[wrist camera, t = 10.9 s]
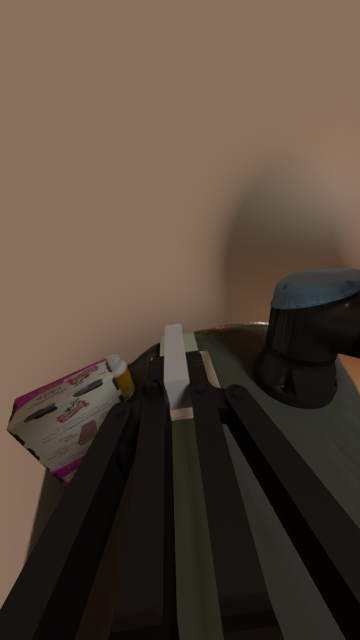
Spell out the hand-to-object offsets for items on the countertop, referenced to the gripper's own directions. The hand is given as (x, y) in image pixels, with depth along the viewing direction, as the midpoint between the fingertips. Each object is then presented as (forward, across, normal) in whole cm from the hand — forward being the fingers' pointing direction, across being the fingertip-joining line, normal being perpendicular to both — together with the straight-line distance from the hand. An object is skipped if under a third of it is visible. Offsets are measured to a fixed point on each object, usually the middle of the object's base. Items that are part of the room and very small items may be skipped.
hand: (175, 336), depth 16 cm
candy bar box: (+2, -15, -23) cm, 27 cm away
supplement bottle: (+14, -15, -23) cm, 31 cm away
